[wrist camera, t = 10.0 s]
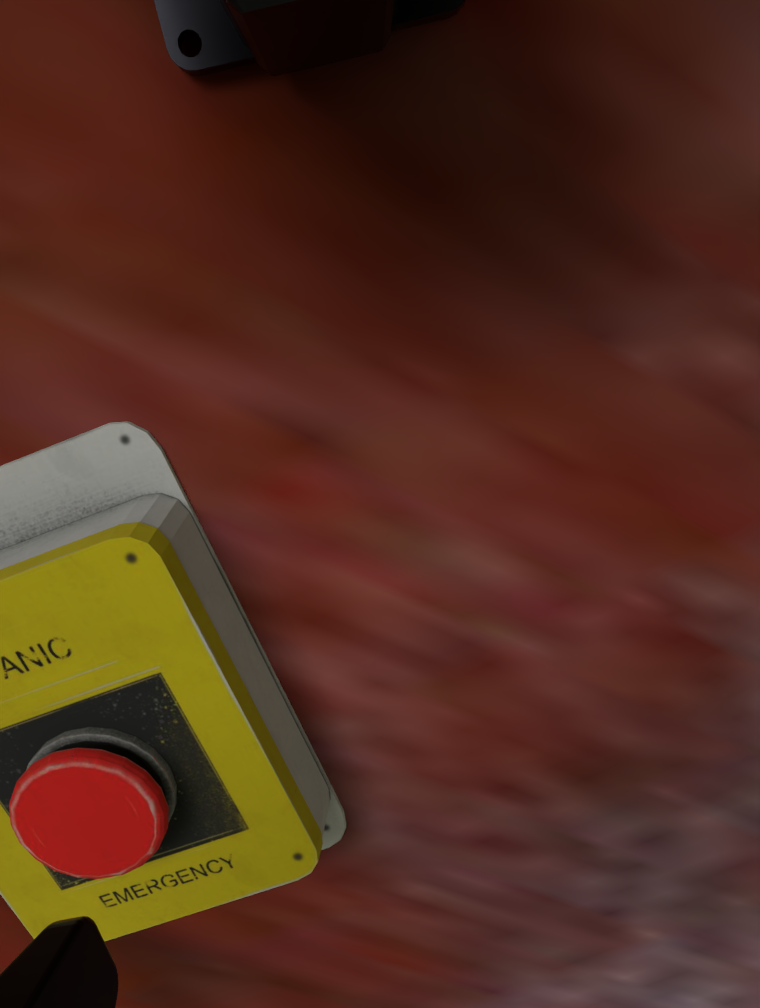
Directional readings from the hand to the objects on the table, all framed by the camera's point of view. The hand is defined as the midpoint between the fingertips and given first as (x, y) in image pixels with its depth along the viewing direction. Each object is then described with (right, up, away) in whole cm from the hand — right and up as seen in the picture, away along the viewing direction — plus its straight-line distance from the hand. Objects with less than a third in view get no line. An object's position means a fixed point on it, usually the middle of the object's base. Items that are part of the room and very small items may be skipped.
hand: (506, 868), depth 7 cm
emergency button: (-9, -2, +14) cm, 17 cm away
